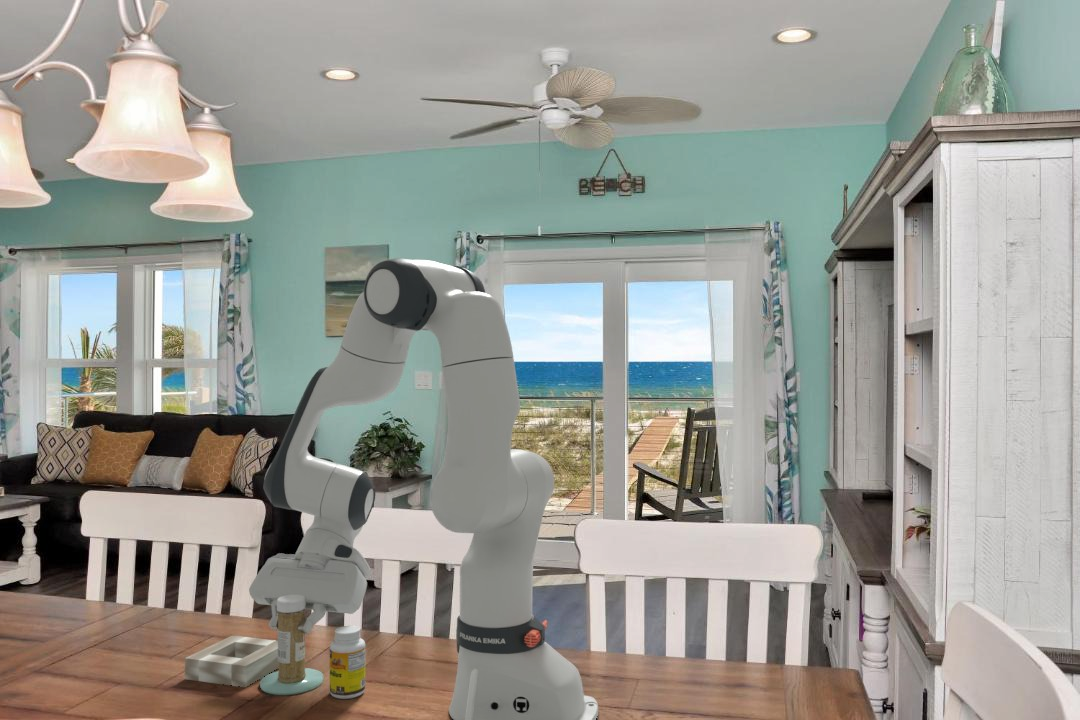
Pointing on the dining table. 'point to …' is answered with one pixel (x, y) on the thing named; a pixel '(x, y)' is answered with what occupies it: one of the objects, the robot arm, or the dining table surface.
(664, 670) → the dining table surface
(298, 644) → the sprinkles bottle
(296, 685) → the coaster
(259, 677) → the bore block
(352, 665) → the supplement bottle
